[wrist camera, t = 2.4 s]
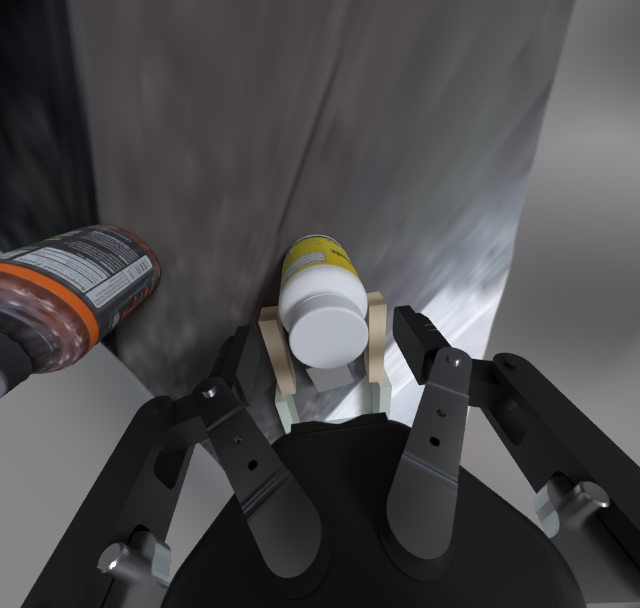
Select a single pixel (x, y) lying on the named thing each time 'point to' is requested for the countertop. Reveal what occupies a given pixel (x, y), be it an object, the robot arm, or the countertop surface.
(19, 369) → the supplement bottle
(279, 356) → the slot rails
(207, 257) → the countertop surface
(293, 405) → the tray
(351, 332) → the supplement bottle
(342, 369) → the chip
